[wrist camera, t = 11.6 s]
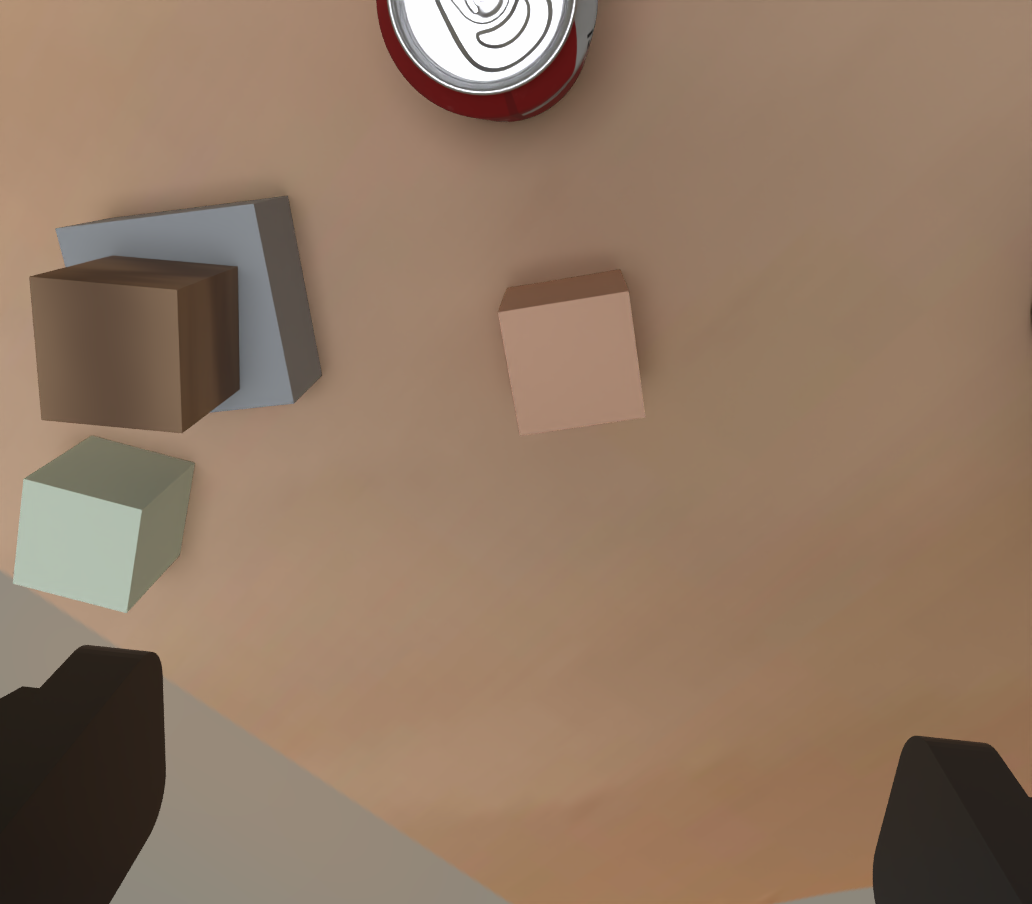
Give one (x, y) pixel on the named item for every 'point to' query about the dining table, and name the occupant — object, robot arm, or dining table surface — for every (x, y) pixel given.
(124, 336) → the walnut block
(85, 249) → the grey base block
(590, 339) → the tan block
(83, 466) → the pale green block
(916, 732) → the dining table surface
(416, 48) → the soda can
